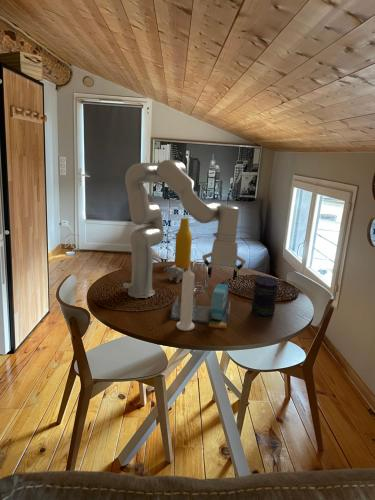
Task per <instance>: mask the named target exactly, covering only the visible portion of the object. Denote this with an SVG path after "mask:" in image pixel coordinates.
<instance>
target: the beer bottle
mask: <svg viewBox="0 0 375 500" xmlns="http://www.w3.org/2000/svg"><path fill="white" fill-rule="evenodd" d="M192 238H193V237H192V233H191V230H190V219H189V218H188V217H181V218H180V225H179V229H178V231H177V233H176V236H175V250H174V252H175V254H174V264H173V265H175V264H176V267H177V268H178V267H179V268H180V269H182V268H183V269H184V270H188V267H189V266H190V267H191V256H192V255H191V254H192V242H193V241H192V240H193V239H192Z"/></svg>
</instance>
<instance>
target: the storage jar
mask: <svg viewBox="0 0 375 500" xmlns="http://www.w3.org/2000/svg"><path fill="white" fill-rule="evenodd" d="M278 285H279V281H278V280H277V279H274V278H271V277H267V276H265V277H263V276H262V277H257V278H255V280H254V285H253V299H252V303H251V310H250V311H251V314H252V315H253V316H255V317H256V318H260V319H271V318H273V317H274V315H275V310H276V297H277V294H278V289H279V288H278V287H279V286H278Z"/></svg>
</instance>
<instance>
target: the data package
mask: <svg viewBox="0 0 375 500" xmlns="http://www.w3.org/2000/svg"><path fill="white" fill-rule="evenodd" d="M228 295H229V285H228V284H223V283H217V285H216V286H215V288H214V289H213V291H212V293H211V299H212V303H211V302H210V304H211V315H210V318H211V319H215V320H222V318H223V316H224V314H225V311H226V309H227V306H228Z"/></svg>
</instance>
